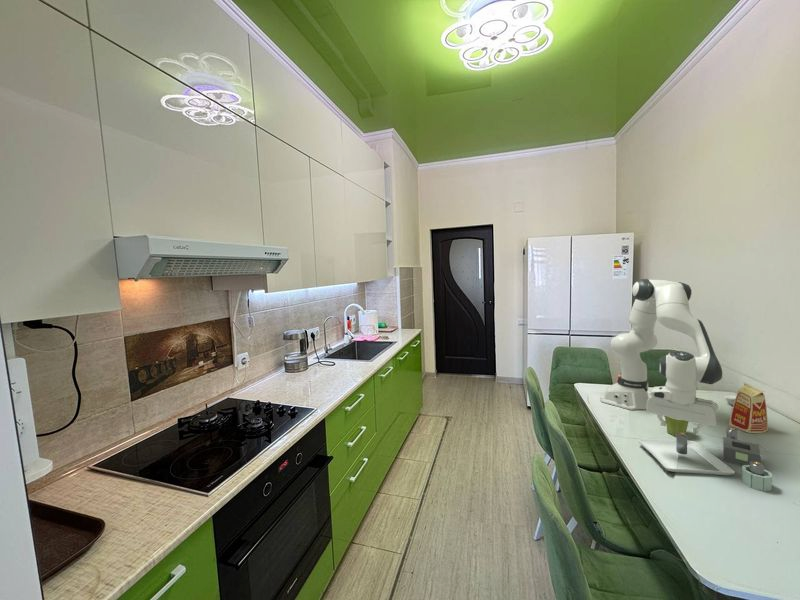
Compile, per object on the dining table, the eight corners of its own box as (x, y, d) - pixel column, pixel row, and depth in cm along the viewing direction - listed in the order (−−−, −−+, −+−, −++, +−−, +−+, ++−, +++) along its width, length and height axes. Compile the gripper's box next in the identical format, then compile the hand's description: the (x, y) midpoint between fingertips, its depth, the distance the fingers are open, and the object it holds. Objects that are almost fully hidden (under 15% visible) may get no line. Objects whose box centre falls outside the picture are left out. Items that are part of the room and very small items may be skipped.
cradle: (723, 462, 120) (723, 447, 120) (723, 451, 127) (723, 436, 127) (760, 472, 114) (760, 456, 113) (757, 459, 121) (758, 444, 120)
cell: (676, 448, 126) (676, 430, 125) (687, 451, 124) (687, 432, 123) (675, 452, 124) (676, 433, 123) (687, 455, 121) (687, 436, 121)
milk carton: (728, 424, 146) (729, 381, 144) (747, 422, 147) (748, 379, 145) (752, 434, 137) (753, 389, 135) (771, 432, 138) (773, 387, 136)
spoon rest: (723, 399, 171) (723, 386, 170) (756, 404, 163) (756, 391, 163) (728, 417, 153) (729, 402, 152) (765, 423, 145) (766, 408, 145)
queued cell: (726, 446, 130) (726, 428, 129) (726, 443, 132) (726, 425, 131) (737, 449, 128) (738, 431, 127) (737, 446, 130) (737, 428, 129)
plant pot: (686, 430, 144) (686, 411, 143) (694, 440, 135) (694, 421, 135) (659, 427, 148) (659, 409, 147) (666, 437, 139) (666, 418, 139)
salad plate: (694, 447, 131) (694, 439, 131) (737, 481, 111) (737, 471, 110) (636, 445, 136) (636, 437, 136) (666, 477, 115) (666, 468, 115)
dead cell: (749, 484, 107) (750, 463, 106) (748, 479, 109) (749, 458, 109) (764, 488, 105) (764, 466, 104) (763, 483, 107) (763, 462, 106)
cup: (742, 487, 107) (742, 472, 107) (741, 477, 112) (741, 462, 111) (772, 496, 102) (773, 480, 102) (770, 485, 107) (770, 470, 107)
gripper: (718, 398, 117) (717, 434, 118) (648, 386, 131) (647, 418, 133) (718, 404, 112) (716, 442, 114) (645, 391, 127) (645, 424, 129)
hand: (679, 429), depth 124 cm, fingers open, 8 cm apart
